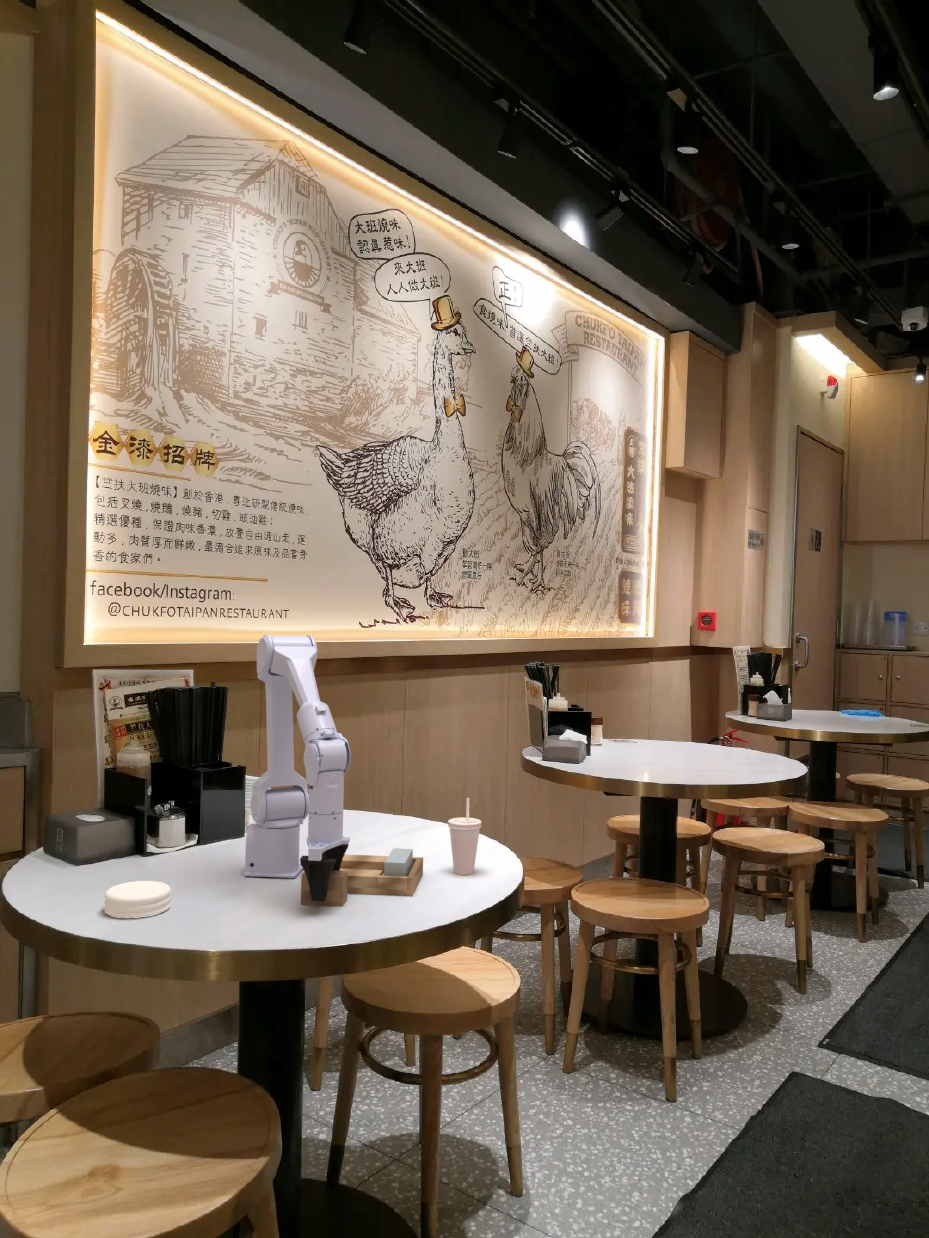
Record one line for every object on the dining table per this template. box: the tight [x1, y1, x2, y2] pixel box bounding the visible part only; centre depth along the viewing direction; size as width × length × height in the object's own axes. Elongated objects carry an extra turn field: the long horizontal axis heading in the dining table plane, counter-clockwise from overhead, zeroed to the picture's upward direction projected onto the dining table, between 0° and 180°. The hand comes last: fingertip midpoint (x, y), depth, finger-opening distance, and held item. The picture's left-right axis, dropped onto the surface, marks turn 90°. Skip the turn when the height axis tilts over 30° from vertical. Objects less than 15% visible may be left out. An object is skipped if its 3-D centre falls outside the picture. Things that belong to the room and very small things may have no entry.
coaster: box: [103, 880, 172, 918], centre depth 142 cm, size 10×10×4 cm
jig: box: [340, 853, 424, 897], centre depth 159 cm, size 18×14×3 cm
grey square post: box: [384, 847, 414, 877], centre depth 159 cm, size 4×10×4 cm, turn 176°
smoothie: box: [447, 797, 482, 876], centre depth 167 cm, size 6×6×14 cm
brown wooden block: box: [300, 870, 348, 908], centre depth 147 cm, size 7×3×5 cm, turn 85°
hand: (324, 893), depth 147 cm, fingers open, 7 cm apart
